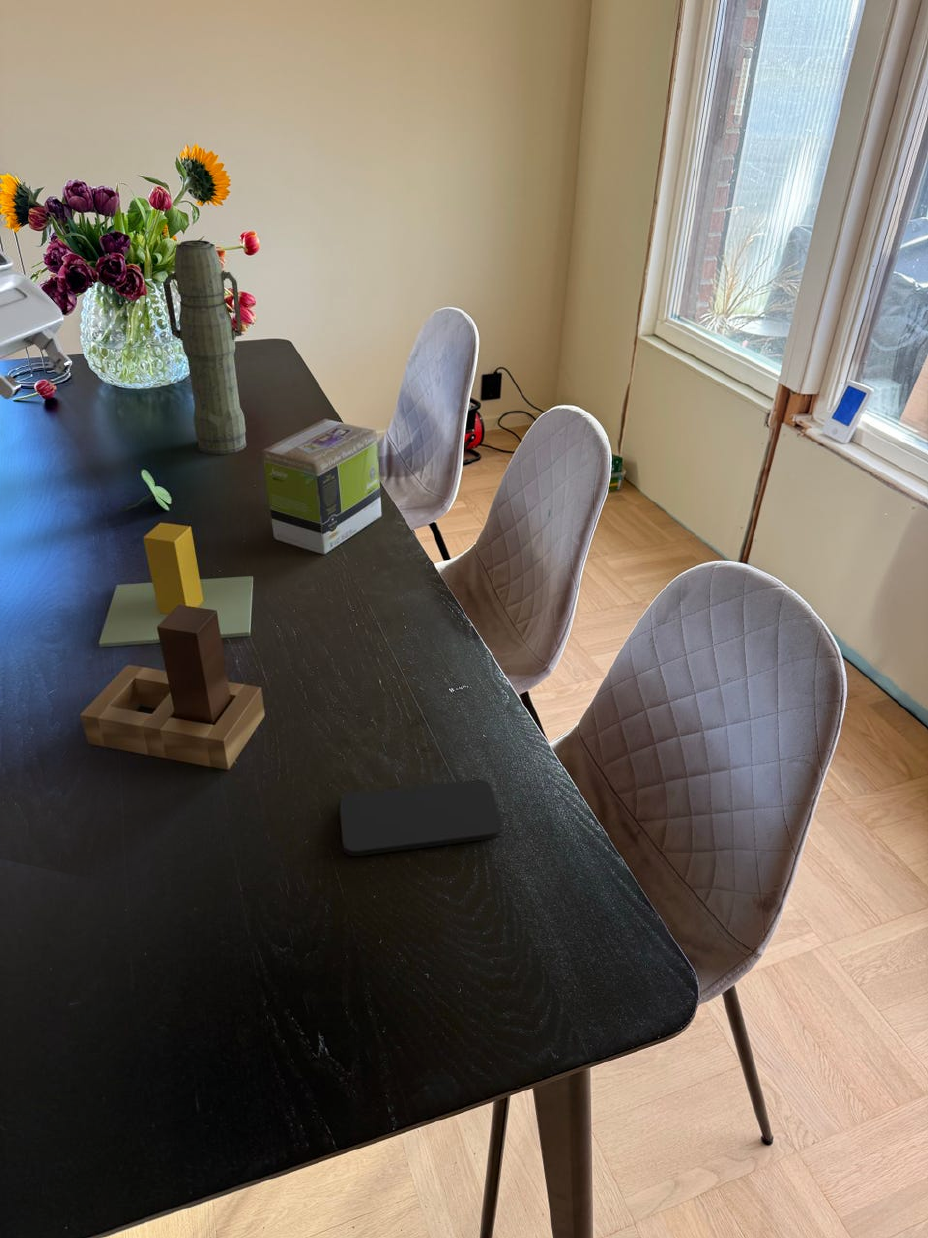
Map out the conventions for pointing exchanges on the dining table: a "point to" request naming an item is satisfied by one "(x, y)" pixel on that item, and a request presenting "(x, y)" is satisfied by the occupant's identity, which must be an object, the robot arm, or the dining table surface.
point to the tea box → (323, 484)
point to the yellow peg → (173, 567)
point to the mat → (139, 614)
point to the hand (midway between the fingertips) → (41, 380)
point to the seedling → (155, 491)
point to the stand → (169, 721)
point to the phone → (418, 817)
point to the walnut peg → (195, 664)
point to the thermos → (208, 344)
